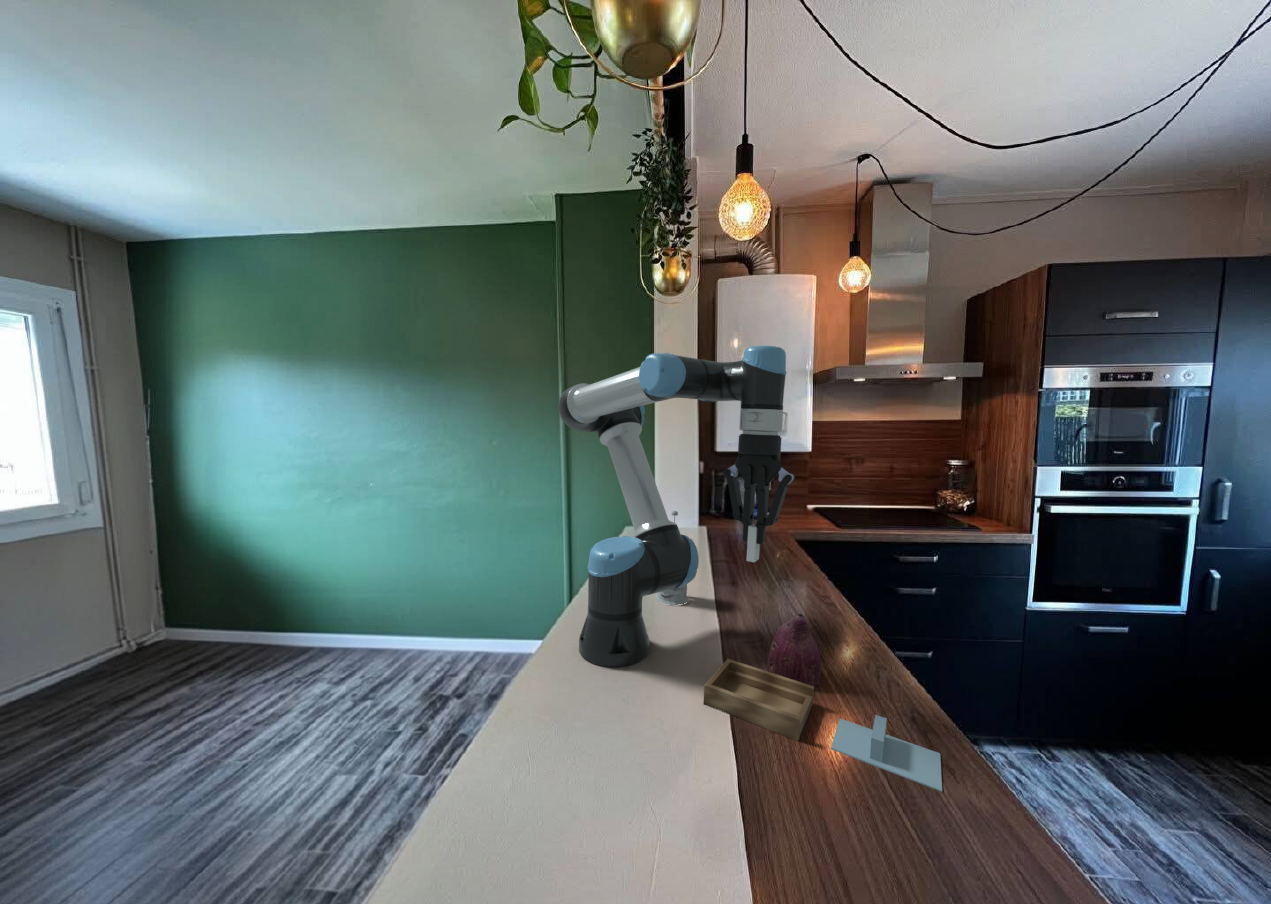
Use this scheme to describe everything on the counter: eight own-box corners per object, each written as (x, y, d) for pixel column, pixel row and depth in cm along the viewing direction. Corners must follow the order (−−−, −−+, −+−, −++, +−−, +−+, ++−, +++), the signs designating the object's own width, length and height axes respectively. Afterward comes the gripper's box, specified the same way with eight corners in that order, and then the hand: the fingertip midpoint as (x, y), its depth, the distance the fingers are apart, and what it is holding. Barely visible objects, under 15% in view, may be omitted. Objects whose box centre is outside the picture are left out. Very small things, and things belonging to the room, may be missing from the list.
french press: (651, 592, 130) (654, 507, 129) (691, 592, 131) (694, 507, 130) (657, 606, 120) (660, 514, 119) (699, 605, 122) (702, 514, 120)
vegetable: (822, 705, 84) (842, 642, 79) (765, 690, 86) (782, 627, 81) (814, 664, 94) (832, 605, 89) (763, 651, 96) (778, 593, 91)
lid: (830, 752, 68) (832, 727, 68) (839, 722, 75) (840, 699, 75) (941, 796, 61) (943, 768, 60) (939, 758, 68) (941, 733, 68)
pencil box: (703, 704, 78) (704, 685, 78) (727, 675, 88) (727, 658, 87) (798, 741, 70) (799, 720, 70) (813, 705, 79) (814, 686, 79)
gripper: (718, 431, 82) (712, 557, 84) (791, 435, 75) (782, 572, 77) (733, 431, 88) (727, 548, 90) (802, 434, 81) (793, 562, 83)
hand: (752, 559), depth 83 cm, fingers closed
